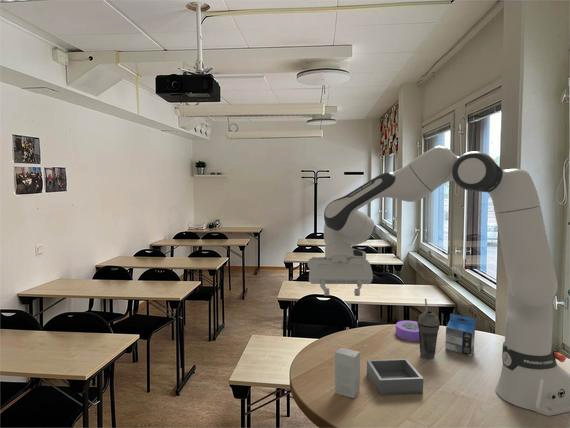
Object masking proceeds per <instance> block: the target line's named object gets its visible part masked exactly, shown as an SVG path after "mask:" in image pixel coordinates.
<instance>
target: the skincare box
mask: <svg viewBox="0 0 570 428" xmlns="http://www.w3.org/2000/svg"><path fill="white" fill-rule="evenodd" d="M360 370H361V352H360V351H358V350H357V351H356V350H352V349H349V348H348V349H347V348H344V347H340V348H339V349H338V350H337V351H335V352H334V393H335V394H336V395H341V396H344V397H348V398H351V399H355V398H356V397H357V396H358V395H359V394H360V392H361V390H360V386H361V384H360V381H361V377H360V374H361V371H360Z"/></svg>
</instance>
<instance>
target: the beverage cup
mask: <svg viewBox="0 0 570 428" xmlns="http://www.w3.org/2000/svg"><path fill="white" fill-rule="evenodd" d="M427 301H428V300H427V298H425V299H424V305H425V311H423V312H422V313H421V314H419V316H418V319H417V321H416V322H417V323H418V329H419V353H420V357H421V358H423V359H425V360H434V359H435V354H436V350H437V348H436V347H437V342H438V341H437V340H438V334H439V329H440V326H441V324H440V319H439V317H438V316H437V314H436V313H435V312H432V311H428V304H427Z"/></svg>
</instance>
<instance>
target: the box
mask: <svg viewBox="0 0 570 428" xmlns="http://www.w3.org/2000/svg"><path fill="white" fill-rule="evenodd" d="M366 375H367V378H368V379H369V380H370V382H371V383H372V385H373V387H374V388H375V390H376V392H377V394H378V395H379V396H380V397H381V396H401V395H402V396H403V395H422V394H424V379H425V378H424V377H423V376H422V375H421V374H420V373H419V371H418V370H417V369H416V368H415V367H414V365H413V364H412V363H411V362H410V361H409V360H408V358H389V359H388V358H387V359H367V360H366Z"/></svg>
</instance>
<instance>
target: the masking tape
mask: <svg viewBox="0 0 570 428" xmlns="http://www.w3.org/2000/svg"><path fill="white" fill-rule="evenodd" d="M417 322H418V321H414V320H400V321H397V322H396V324H395V335H396V336H397V337H399V338H400V339H403V340H406V341H410V342H411V341H414V342H417V341H419V329H418V323H417Z"/></svg>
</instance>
